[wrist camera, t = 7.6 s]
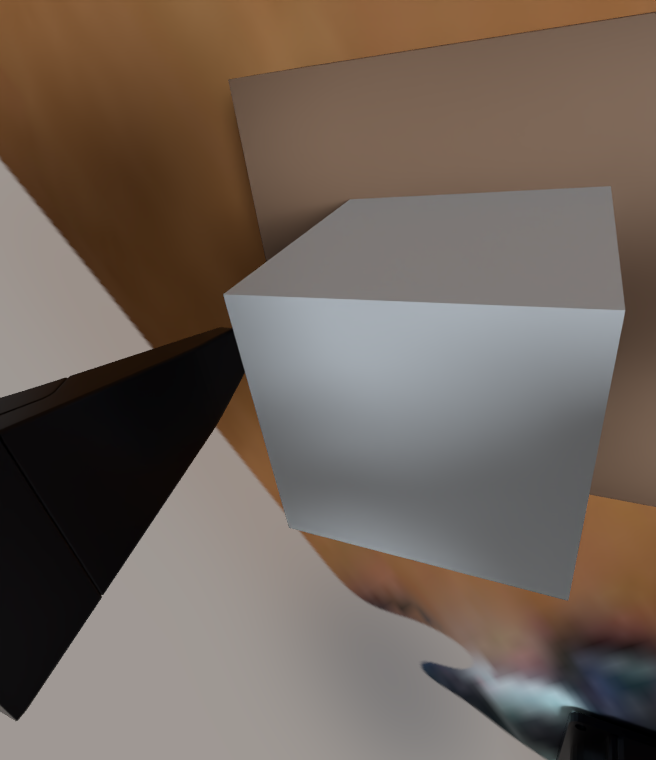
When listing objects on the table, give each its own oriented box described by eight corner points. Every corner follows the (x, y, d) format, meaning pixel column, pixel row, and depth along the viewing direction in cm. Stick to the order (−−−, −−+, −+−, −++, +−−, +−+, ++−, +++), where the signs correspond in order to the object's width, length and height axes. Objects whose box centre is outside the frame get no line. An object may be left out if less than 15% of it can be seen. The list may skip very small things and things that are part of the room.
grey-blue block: (575, 411, 11) (567, 600, 8) (372, 387, 13) (289, 527, 10) (611, 185, 9) (624, 311, 5) (349, 199, 11) (222, 294, 7)
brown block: (660, 432, 14) (674, 510, 12) (339, 388, 18) (303, 440, 16) (796, -11, 9) (867, -21, 6) (292, 69, 13) (228, 79, 10)
